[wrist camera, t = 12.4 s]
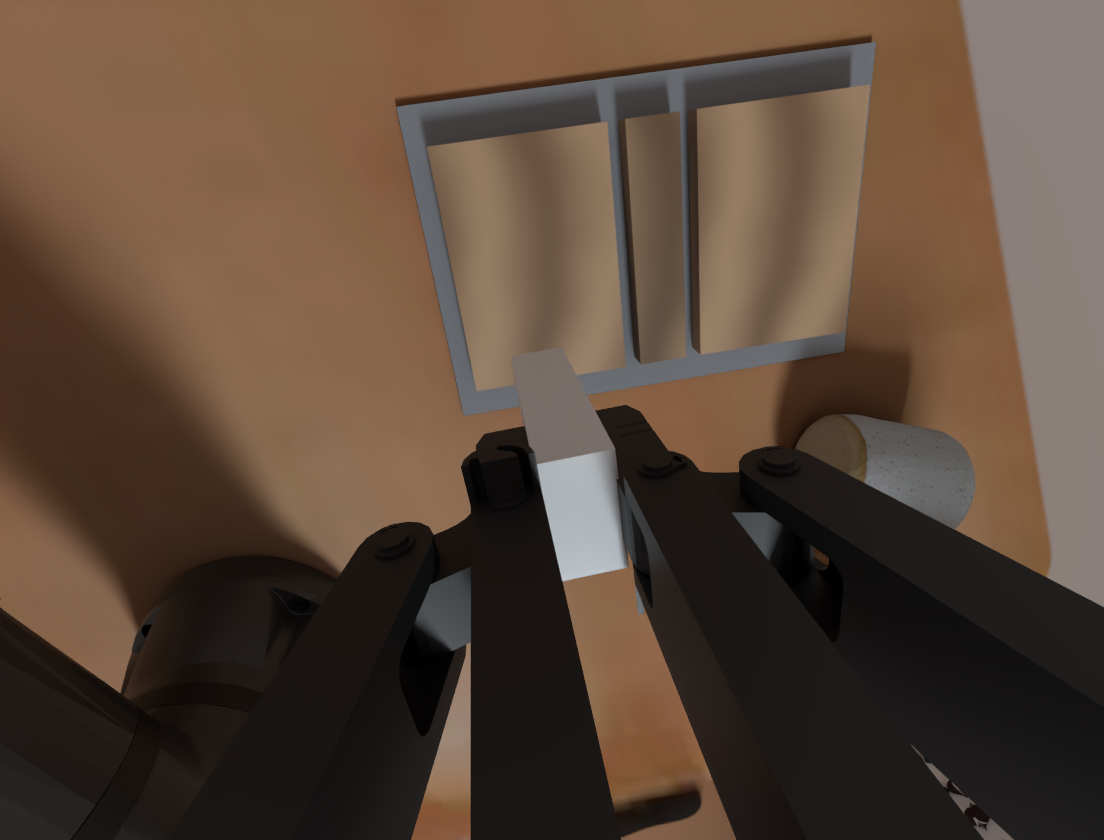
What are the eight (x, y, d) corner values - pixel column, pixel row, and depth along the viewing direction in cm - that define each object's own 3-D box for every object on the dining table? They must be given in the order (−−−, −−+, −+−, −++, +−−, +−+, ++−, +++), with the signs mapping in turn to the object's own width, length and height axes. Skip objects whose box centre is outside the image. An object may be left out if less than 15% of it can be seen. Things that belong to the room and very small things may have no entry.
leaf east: (692, 347, 34) (700, 354, 33) (687, 111, 29) (696, 108, 27) (832, 326, 34) (845, 331, 33) (853, 88, 29) (870, 84, 28)
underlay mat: (463, 413, 34) (463, 415, 34) (397, 107, 27) (396, 106, 27) (841, 350, 36) (844, 351, 36) (872, 43, 29) (875, 41, 28)
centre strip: (634, 356, 34) (640, 364, 33) (618, 121, 28) (625, 118, 27) (678, 349, 34) (686, 357, 33) (670, 114, 29) (679, 111, 27)
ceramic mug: (809, 392, 37) (884, 444, 30) (911, 411, 38) (1004, 465, 32) (752, 520, 41) (807, 592, 34) (846, 532, 43) (916, 604, 36)
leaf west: (477, 383, 33) (476, 391, 32) (429, 148, 28) (426, 146, 27) (620, 359, 34) (625, 367, 32) (601, 123, 28) (607, 121, 27)
